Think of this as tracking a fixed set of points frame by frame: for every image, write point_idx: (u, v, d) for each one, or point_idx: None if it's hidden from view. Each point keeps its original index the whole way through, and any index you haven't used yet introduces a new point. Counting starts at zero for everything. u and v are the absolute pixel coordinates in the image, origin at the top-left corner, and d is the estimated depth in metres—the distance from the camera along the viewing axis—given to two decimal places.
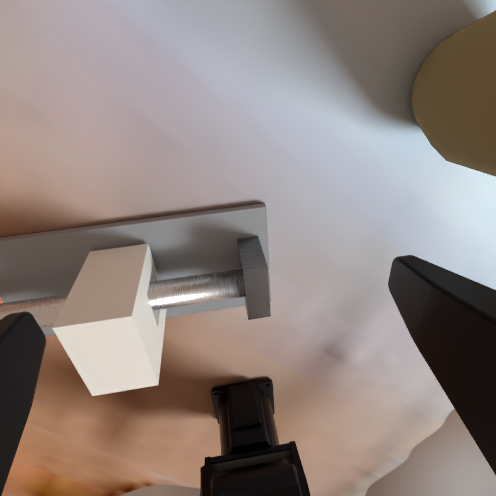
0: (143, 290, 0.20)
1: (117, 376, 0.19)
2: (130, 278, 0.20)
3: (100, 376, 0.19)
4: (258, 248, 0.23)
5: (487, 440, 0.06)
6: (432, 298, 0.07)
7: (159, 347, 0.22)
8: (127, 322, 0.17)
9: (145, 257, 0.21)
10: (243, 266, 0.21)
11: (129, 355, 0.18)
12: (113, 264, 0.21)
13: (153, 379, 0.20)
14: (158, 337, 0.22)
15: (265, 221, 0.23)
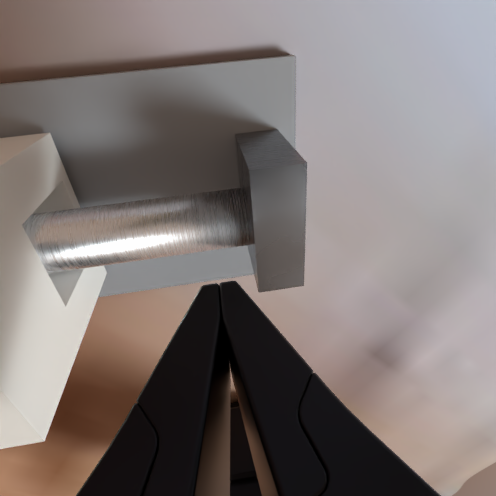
0: (1, 208, 0.08)
1: None
2: None
3: None
4: (280, 141, 0.11)
5: (259, 484, 0.06)
6: (224, 331, 0.07)
7: (65, 349, 0.10)
8: None
9: (31, 149, 0.10)
10: (249, 164, 0.09)
11: None
12: None
13: (27, 429, 0.08)
14: (64, 327, 0.10)
15: (293, 94, 0.12)
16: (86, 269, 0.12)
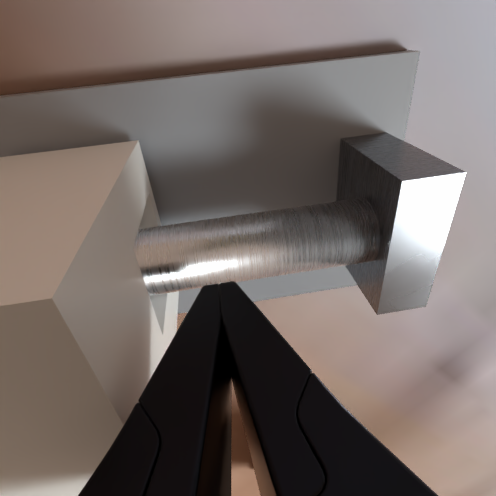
0: (120, 231, 0.07)
1: (40, 490, 0.06)
2: (82, 193, 0.07)
3: None
4: (406, 147, 0.10)
5: (258, 484, 0.06)
6: (223, 331, 0.07)
7: None
8: (39, 326, 0.04)
9: (130, 160, 0.09)
10: (396, 173, 0.08)
11: (67, 436, 0.05)
12: (45, 172, 0.08)
13: None
14: None
15: (409, 93, 0.10)
16: None
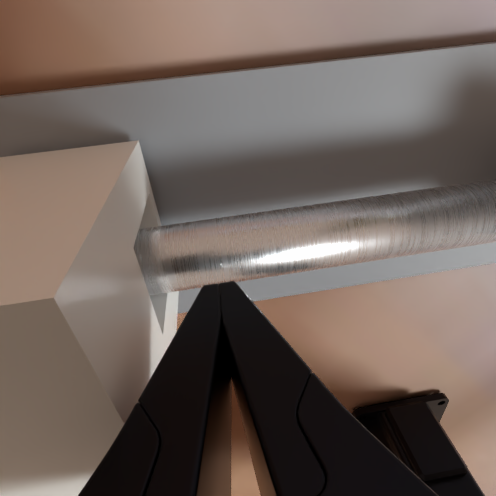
0: (121, 231, 0.07)
1: (41, 489, 0.06)
2: (83, 193, 0.07)
3: None
4: None
5: (258, 484, 0.06)
6: (223, 331, 0.07)
7: None
8: (40, 326, 0.04)
9: (130, 160, 0.09)
10: None
11: (67, 436, 0.05)
12: (45, 172, 0.08)
13: None
14: None
15: None
16: None
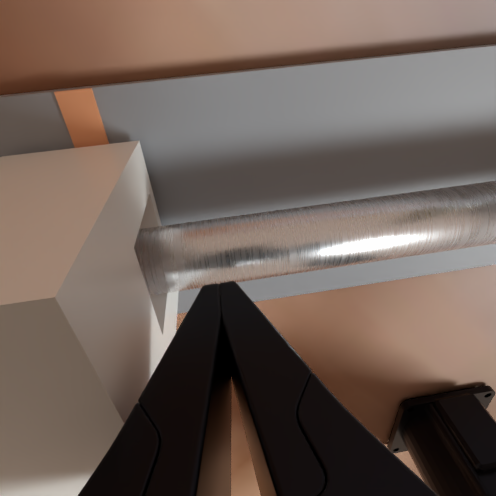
0: (122, 231, 0.07)
1: (41, 489, 0.06)
2: (83, 193, 0.07)
3: None
4: None
5: (259, 484, 0.06)
6: (223, 331, 0.07)
7: None
8: (42, 326, 0.04)
9: (131, 160, 0.09)
10: None
11: (67, 435, 0.05)
12: (46, 171, 0.08)
13: None
14: None
15: None
16: None
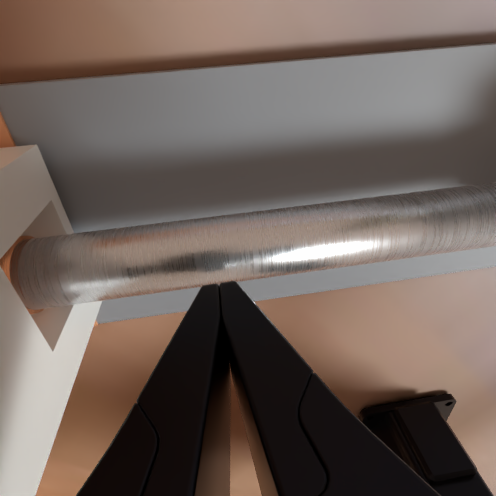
0: None
1: None
2: None
3: None
4: None
5: (259, 484, 0.06)
6: (224, 331, 0.07)
7: (51, 405, 0.08)
8: None
9: (12, 166, 0.08)
10: None
11: None
12: None
13: None
14: (50, 378, 0.08)
15: None
16: None
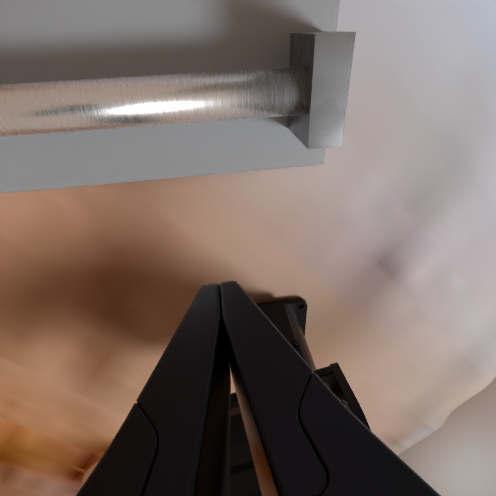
0: None
1: None
2: None
3: None
4: None
5: (259, 484, 0.06)
6: (224, 331, 0.07)
7: None
8: None
9: None
10: (313, 33, 0.13)
11: None
12: None
13: None
14: None
15: (337, 1, 0.15)
16: None
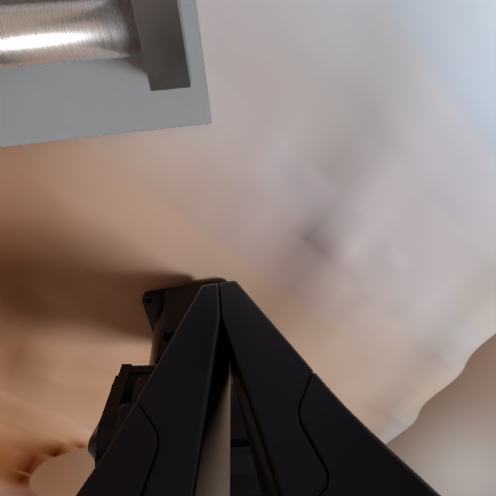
0: None
1: None
2: None
3: None
4: None
5: (260, 484, 0.06)
6: (224, 331, 0.07)
7: None
8: None
9: None
10: None
11: None
12: None
13: None
14: None
15: None
16: None
